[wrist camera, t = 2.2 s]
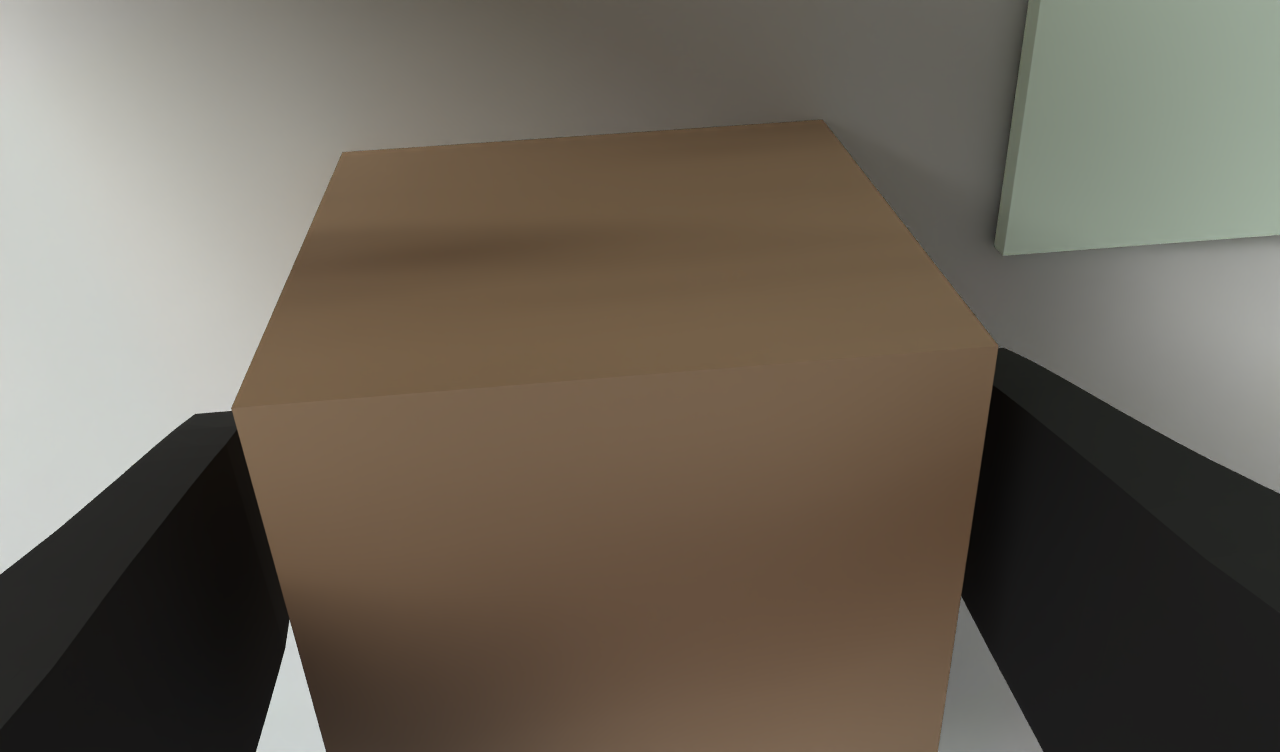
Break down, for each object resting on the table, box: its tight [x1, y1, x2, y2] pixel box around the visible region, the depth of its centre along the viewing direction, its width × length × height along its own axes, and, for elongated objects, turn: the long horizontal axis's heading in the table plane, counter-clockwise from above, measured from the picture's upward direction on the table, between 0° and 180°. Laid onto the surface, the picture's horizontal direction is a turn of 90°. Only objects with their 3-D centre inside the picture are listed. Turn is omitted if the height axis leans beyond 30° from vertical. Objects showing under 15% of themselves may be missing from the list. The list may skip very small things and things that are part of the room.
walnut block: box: [231, 120, 998, 752], centre depth 11 cm, size 6×6×6 cm
